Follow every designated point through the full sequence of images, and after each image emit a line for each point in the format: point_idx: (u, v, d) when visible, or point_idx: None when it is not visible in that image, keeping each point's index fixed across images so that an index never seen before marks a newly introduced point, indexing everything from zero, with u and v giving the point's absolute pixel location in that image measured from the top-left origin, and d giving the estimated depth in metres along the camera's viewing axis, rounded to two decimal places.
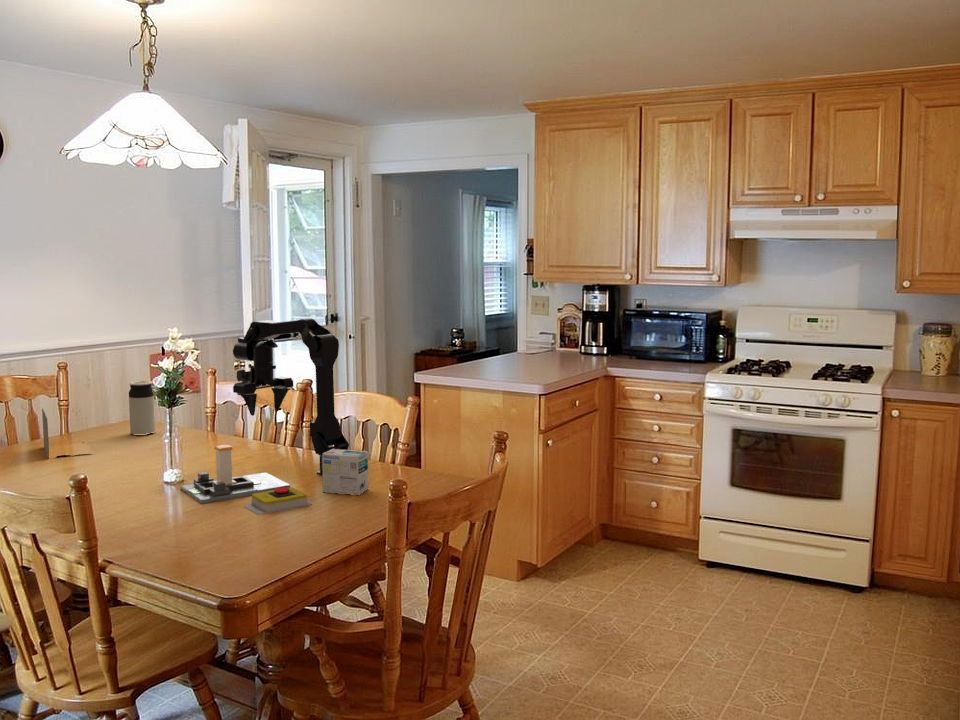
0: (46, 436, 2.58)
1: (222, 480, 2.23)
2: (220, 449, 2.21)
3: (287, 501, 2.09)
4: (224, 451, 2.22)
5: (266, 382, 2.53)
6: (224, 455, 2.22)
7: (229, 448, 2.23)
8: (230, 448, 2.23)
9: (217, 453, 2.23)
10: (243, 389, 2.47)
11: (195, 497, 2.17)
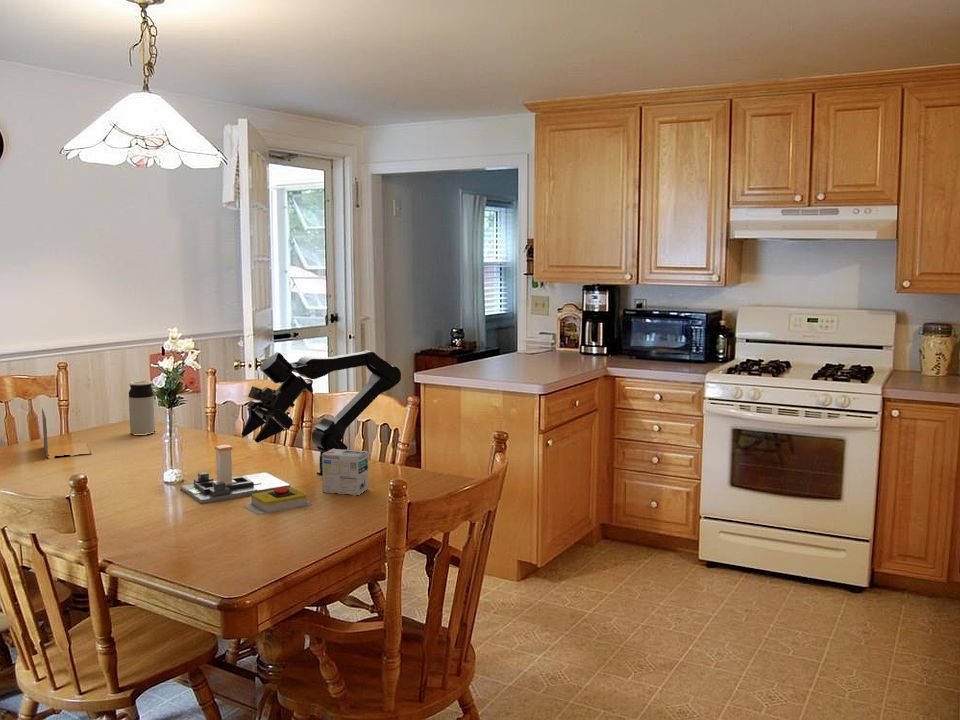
0: (45, 436, 2.58)
1: (222, 480, 2.23)
2: (220, 449, 2.21)
3: (287, 501, 2.09)
4: (224, 451, 2.22)
5: None
6: (224, 455, 2.22)
7: (229, 448, 2.23)
8: (230, 448, 2.23)
9: (217, 453, 2.23)
10: (290, 424, 2.24)
11: (195, 497, 2.17)
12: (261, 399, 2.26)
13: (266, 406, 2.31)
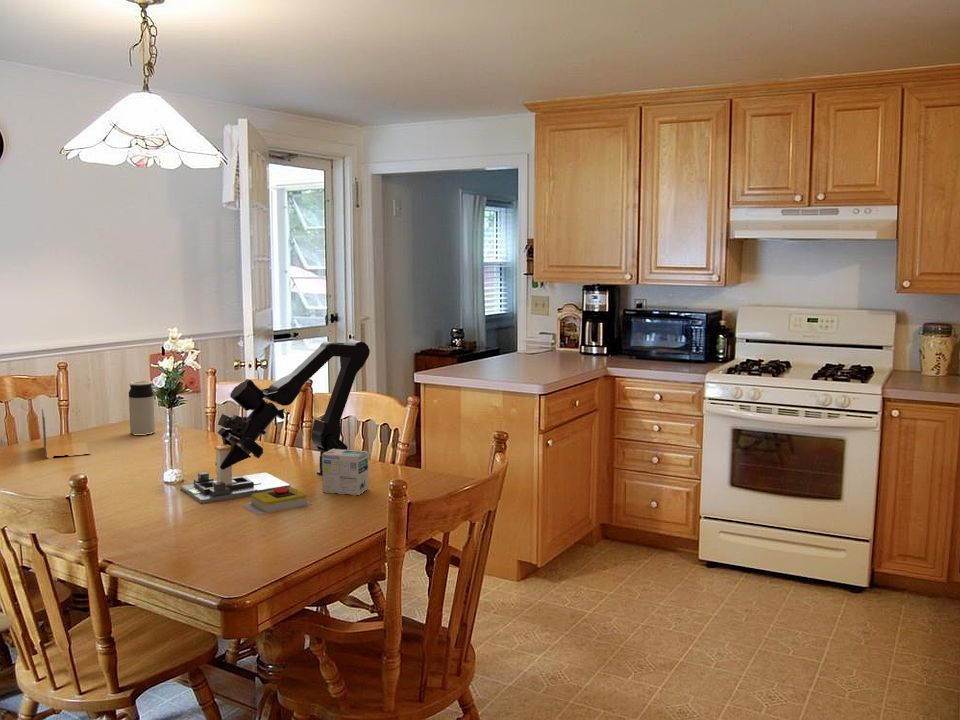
0: None
1: (222, 480, 2.23)
2: (220, 449, 2.21)
3: (287, 501, 2.09)
4: (224, 451, 2.22)
5: None
6: (224, 455, 2.22)
7: (229, 448, 2.23)
8: (230, 448, 2.23)
9: (217, 453, 2.23)
10: (260, 453, 2.20)
11: (195, 497, 2.17)
12: (231, 427, 2.22)
13: (236, 434, 2.27)
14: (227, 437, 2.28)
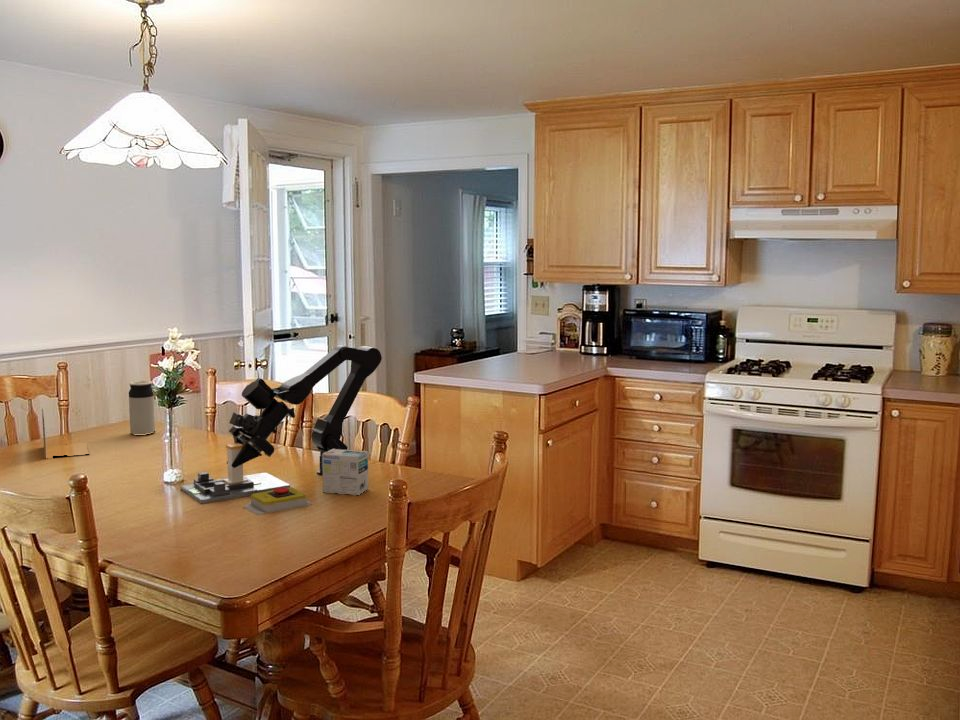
0: None
1: (233, 478, 2.24)
2: (231, 447, 2.23)
3: (286, 501, 2.09)
4: (235, 449, 2.24)
5: None
6: (236, 454, 2.24)
7: (240, 446, 2.24)
8: (241, 446, 2.25)
9: (228, 451, 2.25)
10: (271, 451, 2.22)
11: (195, 497, 2.17)
12: (242, 426, 2.23)
13: (248, 432, 2.29)
14: (238, 436, 2.29)
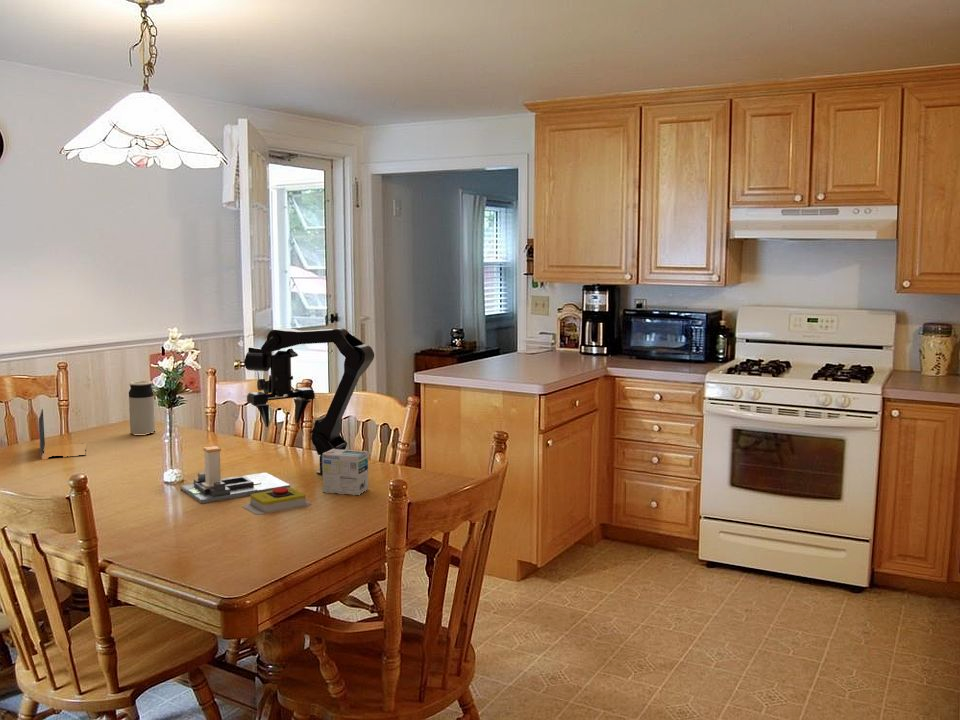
0: None
1: (211, 482, 2.21)
2: (208, 451, 2.19)
3: (286, 501, 2.09)
4: (212, 452, 2.20)
5: (281, 393, 2.42)
6: (213, 457, 2.21)
7: (218, 450, 2.21)
8: (219, 450, 2.21)
9: (206, 455, 2.21)
10: (253, 400, 2.38)
11: (195, 497, 2.17)
12: (265, 391, 2.48)
13: None
14: None
